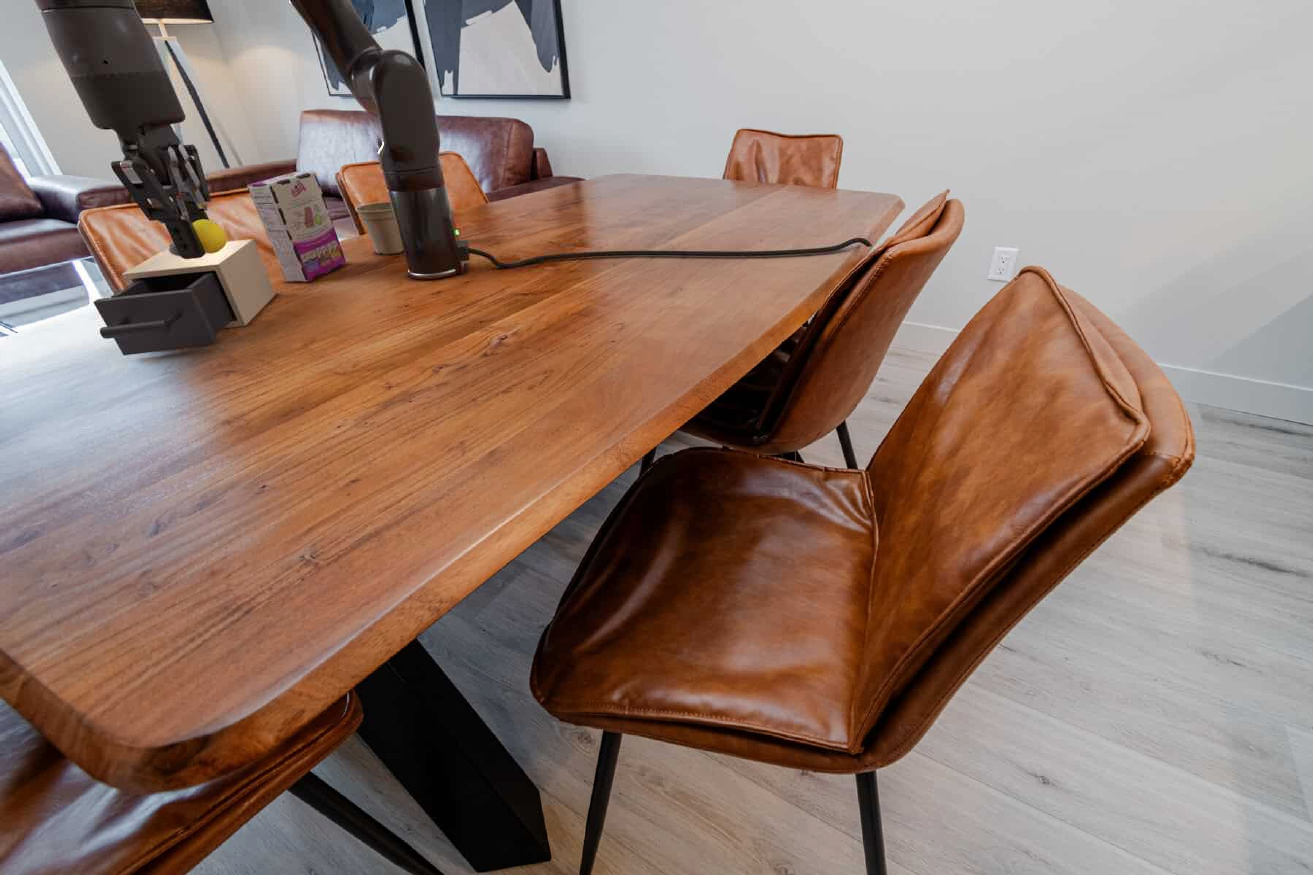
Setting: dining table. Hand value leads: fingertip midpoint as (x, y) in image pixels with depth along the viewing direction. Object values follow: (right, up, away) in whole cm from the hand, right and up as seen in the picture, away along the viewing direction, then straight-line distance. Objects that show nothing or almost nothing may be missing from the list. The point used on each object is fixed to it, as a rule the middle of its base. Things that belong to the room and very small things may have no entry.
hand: (201, 251), depth 66 cm
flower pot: (-3, +17, +55) cm, 58 cm away
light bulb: (0, 0, 0) cm, 0 cm away
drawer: (-15, -7, +17) cm, 24 cm away
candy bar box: (-12, +9, +44) cm, 46 cm away
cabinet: (-18, -1, +27) cm, 33 cm away
